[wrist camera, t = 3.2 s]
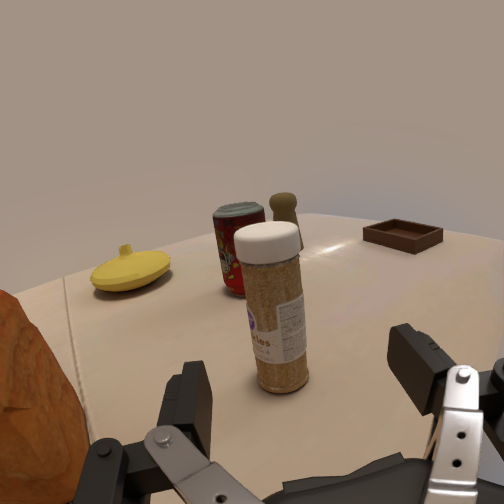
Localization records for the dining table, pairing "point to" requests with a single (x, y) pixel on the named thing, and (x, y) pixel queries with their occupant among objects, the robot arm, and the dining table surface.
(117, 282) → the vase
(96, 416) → the dining table surface
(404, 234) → the serving tray
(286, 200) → the chess piece
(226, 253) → the soda can
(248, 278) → the sprinkles bottle
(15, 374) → the bread
